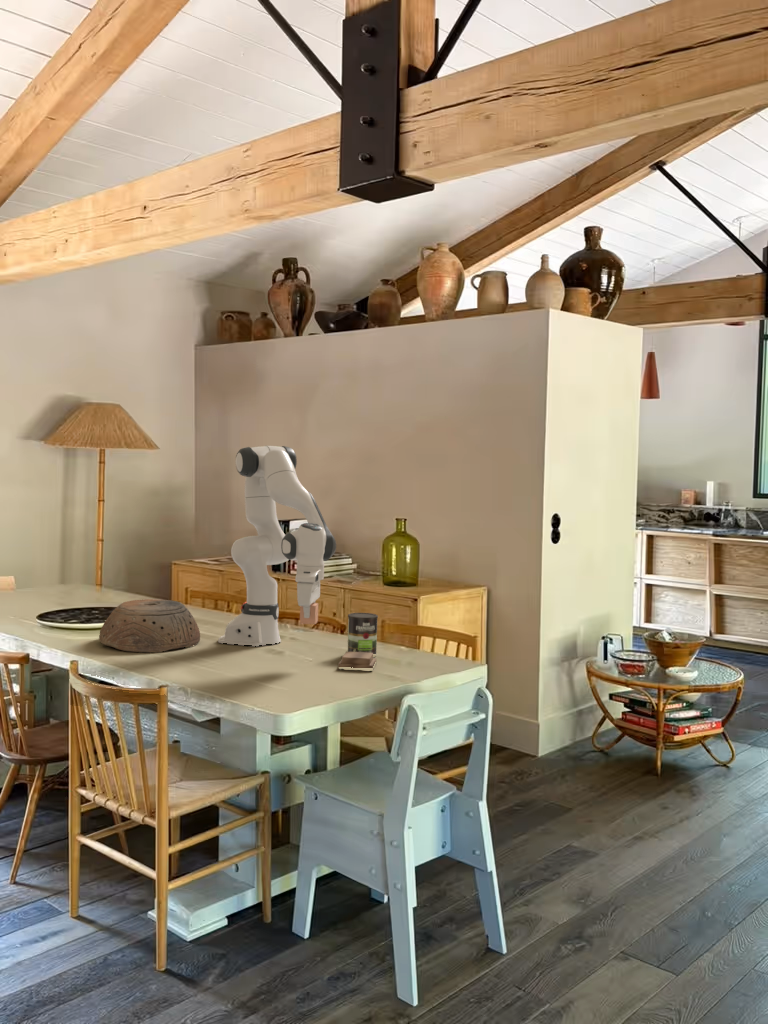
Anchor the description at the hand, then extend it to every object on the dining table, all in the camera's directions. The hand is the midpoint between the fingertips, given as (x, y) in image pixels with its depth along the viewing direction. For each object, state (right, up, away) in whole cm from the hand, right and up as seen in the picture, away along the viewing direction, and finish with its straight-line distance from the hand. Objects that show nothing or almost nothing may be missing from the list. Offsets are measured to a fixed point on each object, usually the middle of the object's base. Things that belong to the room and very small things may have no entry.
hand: (308, 615), depth 300 cm
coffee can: (+17, -16, +19) cm, 30 cm away
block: (0, -2, 0) cm, 2 cm away
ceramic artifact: (-60, -13, +31) cm, 68 cm away
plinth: (+16, -17, +1) cm, 23 cm away
